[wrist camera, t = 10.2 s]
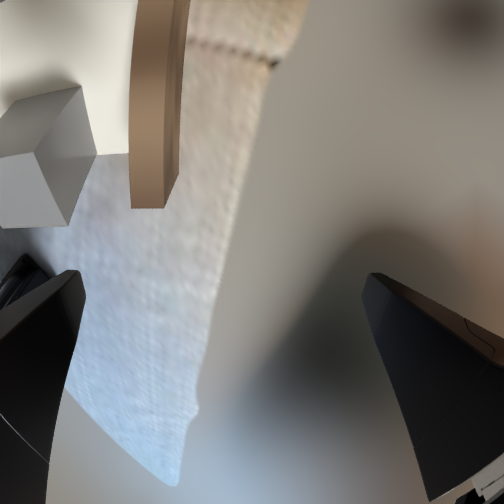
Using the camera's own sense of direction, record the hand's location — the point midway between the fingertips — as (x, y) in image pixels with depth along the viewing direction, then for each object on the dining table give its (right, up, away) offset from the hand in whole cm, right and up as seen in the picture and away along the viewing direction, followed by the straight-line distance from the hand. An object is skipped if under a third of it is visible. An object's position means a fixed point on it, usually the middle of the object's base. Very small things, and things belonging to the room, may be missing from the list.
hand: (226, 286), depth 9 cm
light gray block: (-11, +9, +6) cm, 15 cm away
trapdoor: (-11, +13, +3) cm, 17 cm away
